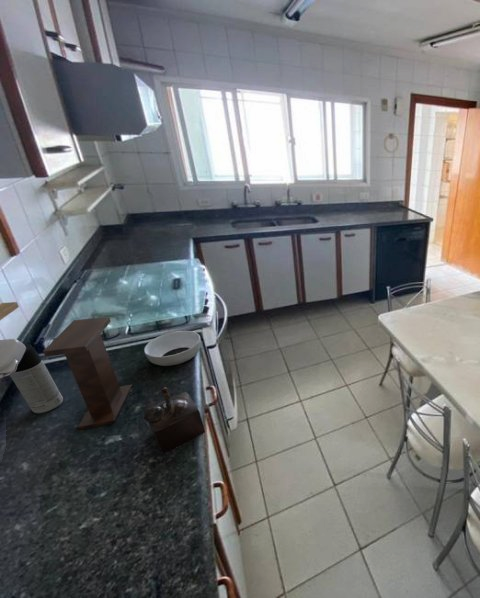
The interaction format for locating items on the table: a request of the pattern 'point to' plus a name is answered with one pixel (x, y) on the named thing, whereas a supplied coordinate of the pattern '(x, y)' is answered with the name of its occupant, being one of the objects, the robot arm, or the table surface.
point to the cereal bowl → (173, 347)
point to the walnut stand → (91, 370)
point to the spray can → (36, 382)
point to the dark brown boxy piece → (174, 421)
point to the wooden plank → (7, 308)
